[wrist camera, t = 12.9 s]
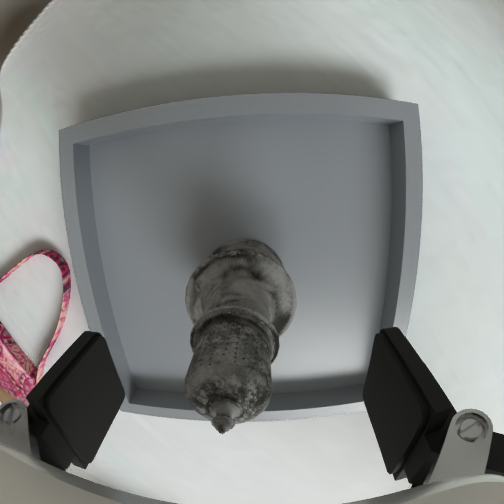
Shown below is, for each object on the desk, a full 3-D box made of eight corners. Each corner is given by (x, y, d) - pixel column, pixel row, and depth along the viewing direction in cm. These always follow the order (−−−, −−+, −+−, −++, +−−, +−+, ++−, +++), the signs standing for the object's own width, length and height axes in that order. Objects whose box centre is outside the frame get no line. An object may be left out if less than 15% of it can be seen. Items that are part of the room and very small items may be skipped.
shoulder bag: (28, 410, 27) (130, 329, 22) (18, 422, 24) (117, 347, 19) (-40, 320, 23) (23, 179, 19) (-52, 328, 20) (1, 181, 16)
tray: (83, 133, 17) (59, 130, 14) (396, 112, 16) (418, 104, 13) (132, 389, 23) (120, 410, 20) (375, 384, 22) (386, 406, 19)
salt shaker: (196, 233, 18) (97, 338, 6) (292, 235, 17) (348, 351, 6) (200, 318, 19) (145, 466, 8) (287, 321, 19) (311, 478, 7)
